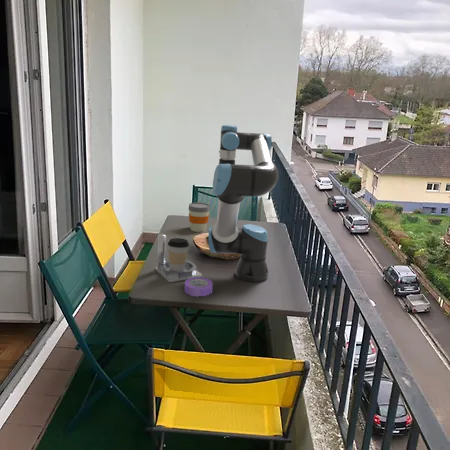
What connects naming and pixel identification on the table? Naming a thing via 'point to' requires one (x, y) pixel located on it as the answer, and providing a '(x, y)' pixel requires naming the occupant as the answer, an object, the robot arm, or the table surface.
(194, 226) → the reusable coffee cup
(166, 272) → the ring base with post
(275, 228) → the table surface
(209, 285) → the masking tape
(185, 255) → the coffee cup
